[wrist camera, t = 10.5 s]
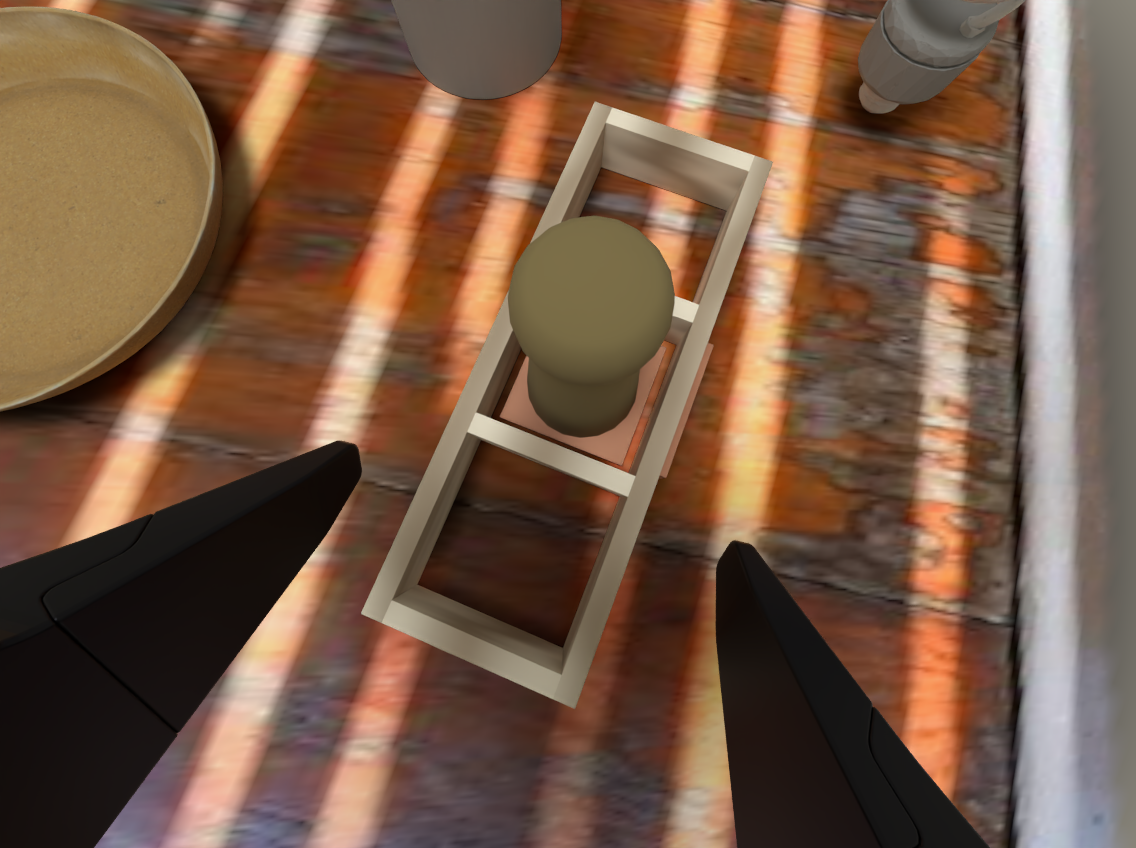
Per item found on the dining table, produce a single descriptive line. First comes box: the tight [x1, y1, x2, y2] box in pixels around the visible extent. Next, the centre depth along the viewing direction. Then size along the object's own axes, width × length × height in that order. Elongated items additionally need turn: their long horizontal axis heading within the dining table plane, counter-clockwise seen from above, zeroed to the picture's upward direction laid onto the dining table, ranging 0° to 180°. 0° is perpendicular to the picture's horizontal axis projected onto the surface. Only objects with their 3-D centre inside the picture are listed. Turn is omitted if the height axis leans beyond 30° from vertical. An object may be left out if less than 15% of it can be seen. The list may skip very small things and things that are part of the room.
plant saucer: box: [0, 7, 223, 411], centre depth 23 cm, size 24×24×3 cm
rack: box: [361, 102, 773, 709], centre depth 21 cm, size 10×28×3 cm, turn 158°
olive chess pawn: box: [508, 216, 675, 438], centre depth 17 cm, size 6×6×11 cm
